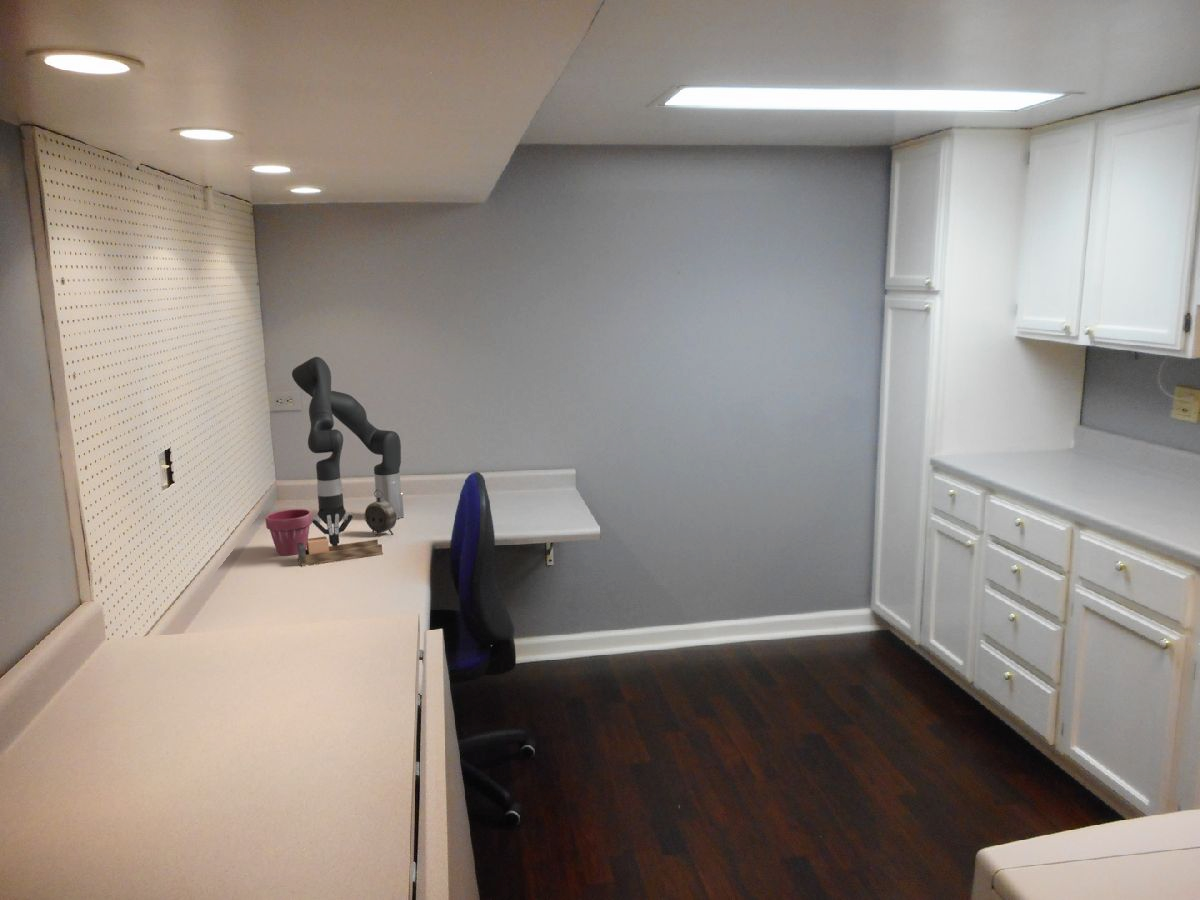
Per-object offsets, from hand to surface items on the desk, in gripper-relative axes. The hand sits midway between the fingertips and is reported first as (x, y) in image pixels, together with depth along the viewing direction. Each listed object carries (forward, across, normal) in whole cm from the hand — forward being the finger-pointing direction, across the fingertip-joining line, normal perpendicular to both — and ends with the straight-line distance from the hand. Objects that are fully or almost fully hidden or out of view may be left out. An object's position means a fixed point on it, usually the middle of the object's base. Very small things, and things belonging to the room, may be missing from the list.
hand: (334, 545), depth 274 cm
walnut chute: (+4, -2, 0) cm, 4 cm away
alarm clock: (+4, -19, -20) cm, 28 cm away
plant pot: (+4, +12, -14) cm, 19 cm away
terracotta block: (+4, +5, 0) cm, 6 cm away
